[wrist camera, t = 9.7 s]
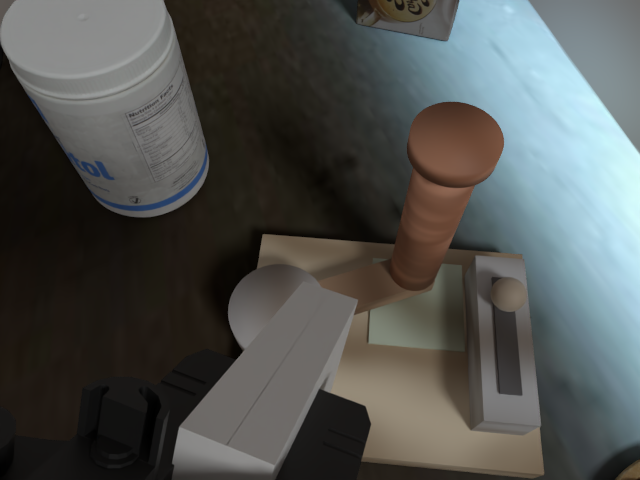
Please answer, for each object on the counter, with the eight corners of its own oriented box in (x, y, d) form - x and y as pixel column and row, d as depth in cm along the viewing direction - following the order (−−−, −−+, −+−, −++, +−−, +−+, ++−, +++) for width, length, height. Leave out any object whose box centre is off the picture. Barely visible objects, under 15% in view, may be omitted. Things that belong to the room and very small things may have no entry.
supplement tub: (66, 191, 42) (-47, 38, 30) (142, 111, 46) (72, -54, 34) (165, 243, 40) (90, 102, 27) (236, 154, 44) (199, -6, 31)
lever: (246, 379, 33) (197, 277, 20) (223, 293, 35) (167, 155, 23) (457, 310, 35) (533, 178, 22) (419, 233, 37) (467, 77, 25)
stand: (265, 247, 40) (254, 193, 34) (513, 267, 39) (549, 215, 33) (232, 448, 33) (211, 426, 27) (532, 478, 32) (582, 463, 26)
